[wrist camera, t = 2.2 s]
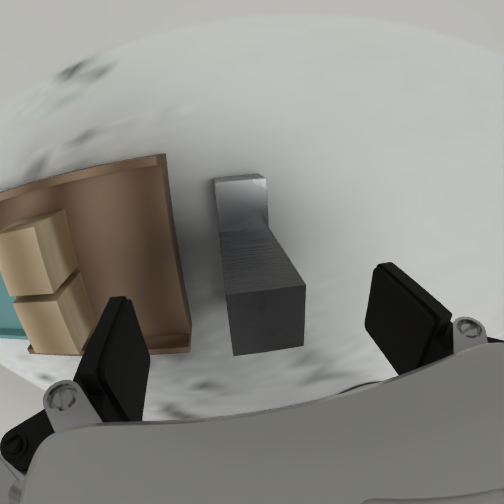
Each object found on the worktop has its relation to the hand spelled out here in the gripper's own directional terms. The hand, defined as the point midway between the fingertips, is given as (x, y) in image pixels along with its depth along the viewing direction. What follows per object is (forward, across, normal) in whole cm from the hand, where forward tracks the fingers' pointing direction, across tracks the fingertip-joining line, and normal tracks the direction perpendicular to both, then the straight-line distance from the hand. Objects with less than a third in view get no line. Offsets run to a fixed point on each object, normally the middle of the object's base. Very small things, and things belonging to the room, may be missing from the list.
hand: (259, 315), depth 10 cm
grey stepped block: (+10, 0, +1) cm, 10 cm away
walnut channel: (+10, +11, +1) cm, 15 cm away
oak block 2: (+8, +13, +3) cm, 16 cm away
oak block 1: (+9, +13, -1) cm, 16 cm away
